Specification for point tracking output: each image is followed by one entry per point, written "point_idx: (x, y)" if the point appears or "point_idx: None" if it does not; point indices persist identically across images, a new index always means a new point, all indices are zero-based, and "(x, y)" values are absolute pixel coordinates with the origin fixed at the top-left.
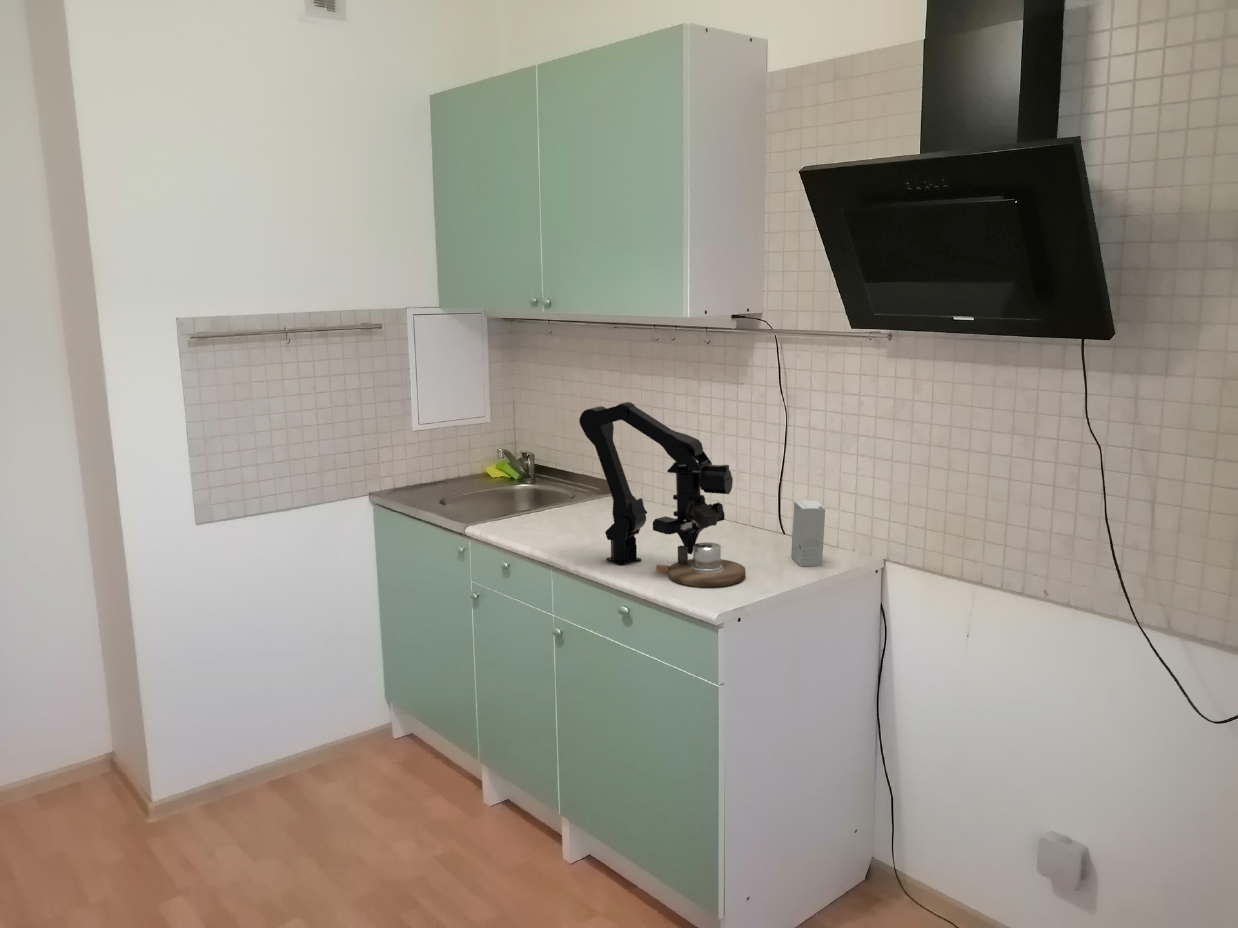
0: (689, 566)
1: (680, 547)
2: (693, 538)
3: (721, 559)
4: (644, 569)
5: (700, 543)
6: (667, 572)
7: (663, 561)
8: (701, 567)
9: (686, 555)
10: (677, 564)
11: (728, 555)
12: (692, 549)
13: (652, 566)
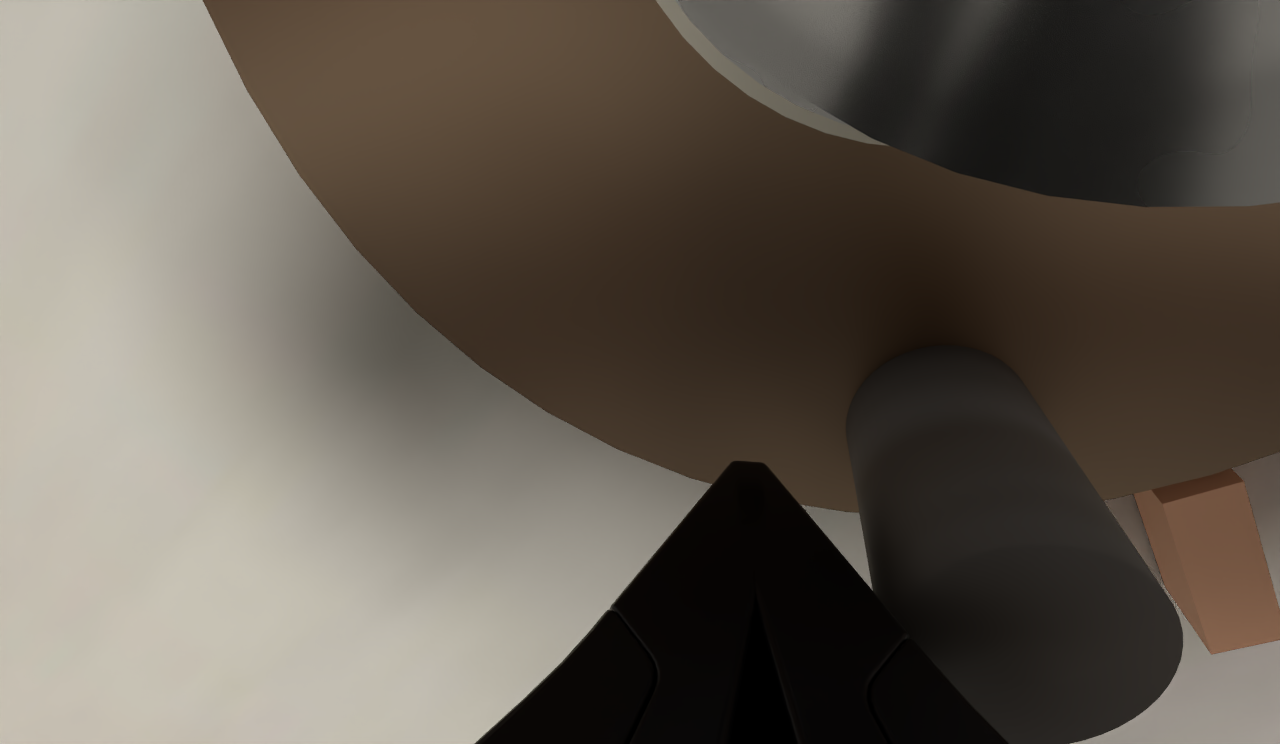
0: None
1: (1124, 658)
2: (737, 700)
3: (263, 99)
4: (1218, 714)
5: (1086, 70)
6: None
7: None
8: None
9: (987, 423)
10: (1086, 427)
11: (7, 393)
12: (739, 497)
13: None
